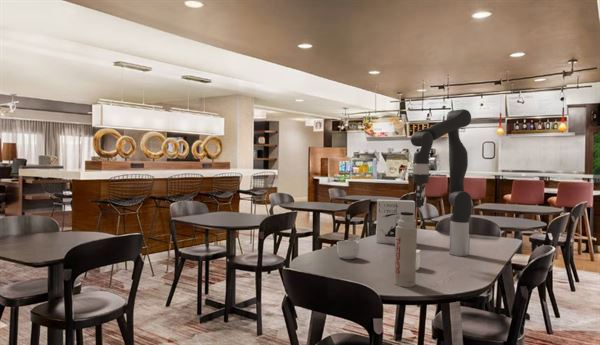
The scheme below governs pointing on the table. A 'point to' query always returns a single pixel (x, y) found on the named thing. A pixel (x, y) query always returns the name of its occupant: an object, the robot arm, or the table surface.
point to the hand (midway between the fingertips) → (419, 206)
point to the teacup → (348, 249)
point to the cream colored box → (417, 259)
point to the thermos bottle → (405, 251)
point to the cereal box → (390, 218)
